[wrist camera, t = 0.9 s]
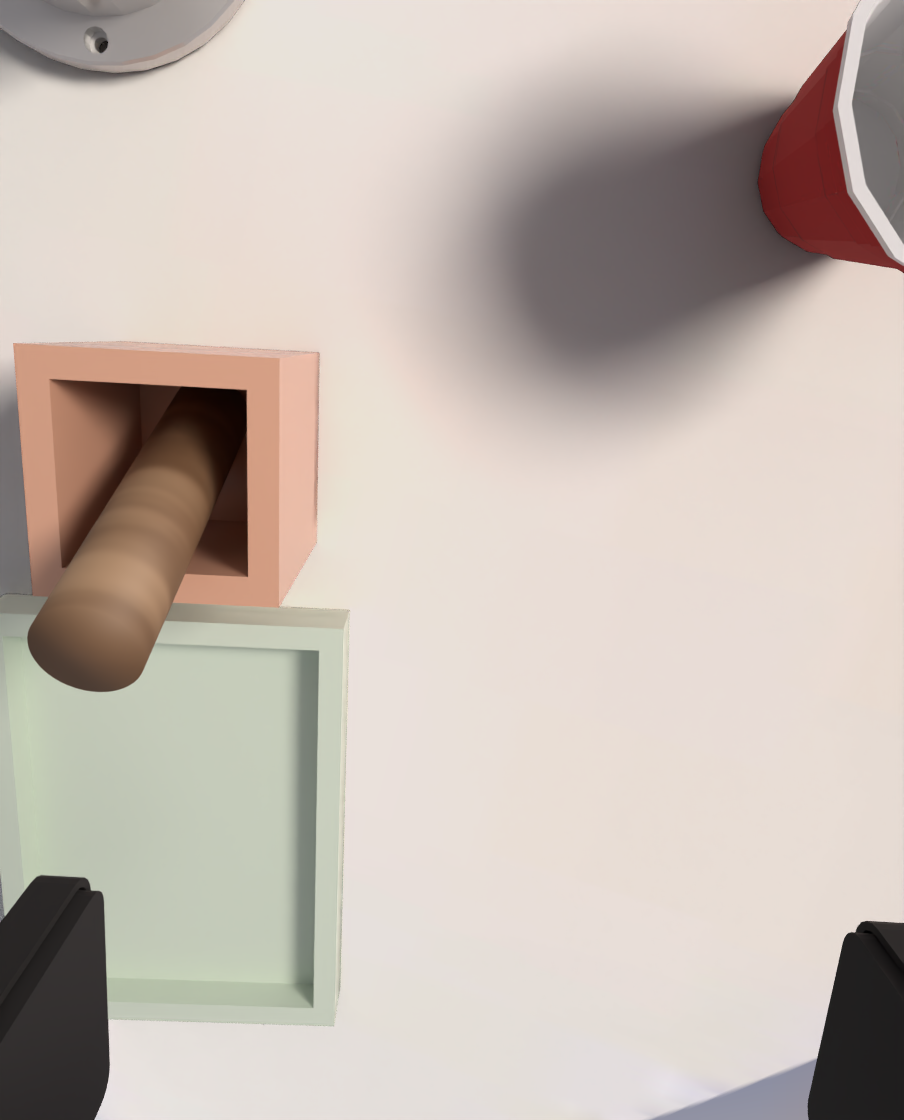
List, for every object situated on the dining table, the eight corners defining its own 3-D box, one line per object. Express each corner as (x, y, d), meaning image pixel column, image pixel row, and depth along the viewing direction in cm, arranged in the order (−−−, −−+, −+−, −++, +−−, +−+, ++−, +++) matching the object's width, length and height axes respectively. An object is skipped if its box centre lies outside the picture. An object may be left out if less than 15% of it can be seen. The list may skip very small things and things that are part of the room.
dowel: (176, 373, 33) (-4, 411, 20) (252, 377, 33) (125, 418, 20) (182, 557, 35) (23, 706, 22) (254, 560, 36) (140, 711, 22)
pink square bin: (121, 341, 34) (13, 343, 25) (319, 352, 34) (279, 358, 26) (129, 533, 36) (32, 596, 27) (316, 542, 36) (278, 607, 28)
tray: (5, 593, 37) (-25, 612, 34) (349, 609, 37) (343, 629, 35) (38, 977, 42) (13, 1016, 39) (340, 986, 42) (334, 1026, 40)
